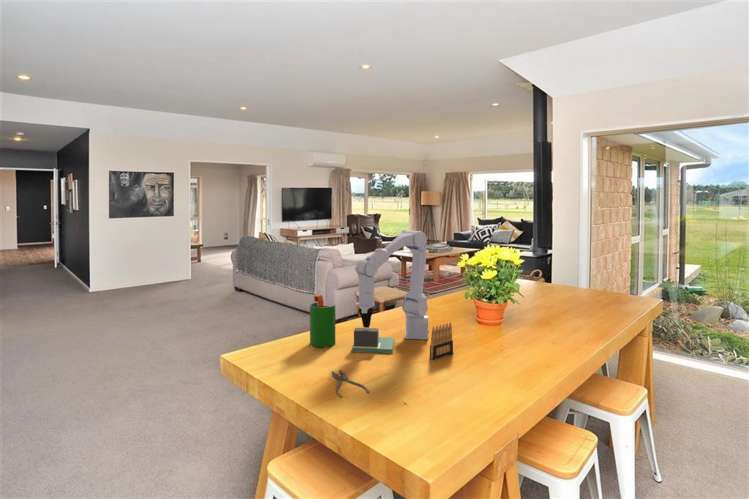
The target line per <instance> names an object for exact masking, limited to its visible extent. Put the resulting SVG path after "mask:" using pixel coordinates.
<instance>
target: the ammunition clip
mask: <svg viewBox="0 0 749 499" xmlns="http://www.w3.org/2000/svg"><path fill="white" fill-rule="evenodd" d="M452 328H453V326H452V323H451V321H449V323H448V322H446V323H443V324H442V325H441V324H439V326H438V325H436V326H432V329H431V330H432V331H431V337H430V345H429V359H430V360H432V361H435V360H438V359H440V358H444V357H447V356H451V355H453V354H454V340H453V330H452Z"/></svg>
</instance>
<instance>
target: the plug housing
mask: <svg viewBox="0 0 749 499" xmlns="http://www.w3.org/2000/svg"><path fill="white" fill-rule="evenodd" d="M379 330H380V329H379V327H377V328H375V327H373V328H372V327H369V328H364V327H355V328H354V329H353V343H354V346H360V347H378V344H379V337H380V336H379V334H380V333H379V332H380V331H379Z"/></svg>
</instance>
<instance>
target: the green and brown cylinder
mask: <svg viewBox="0 0 749 499" xmlns="http://www.w3.org/2000/svg"><path fill="white" fill-rule="evenodd" d="M313 301H314V302H312V303H310V304H309V344H310V346H312V347H314V348H319V349H320V348H330V347H333V346H335V345H336V304H335V305H330V306H328V305H325V303H324V297H323V295H320V294H315V295H314V298H313Z"/></svg>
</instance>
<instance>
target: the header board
mask: <svg viewBox="0 0 749 499" xmlns="http://www.w3.org/2000/svg"><path fill="white" fill-rule="evenodd" d="M394 346H395V337H389V336H388V337H385V336H384V337H383V336H382V337H381V336H379V344H378V347H360V346H354V342H353V344H352V346H351V351H352V353H367V354H368V353H371V354H393V351H394Z"/></svg>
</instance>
